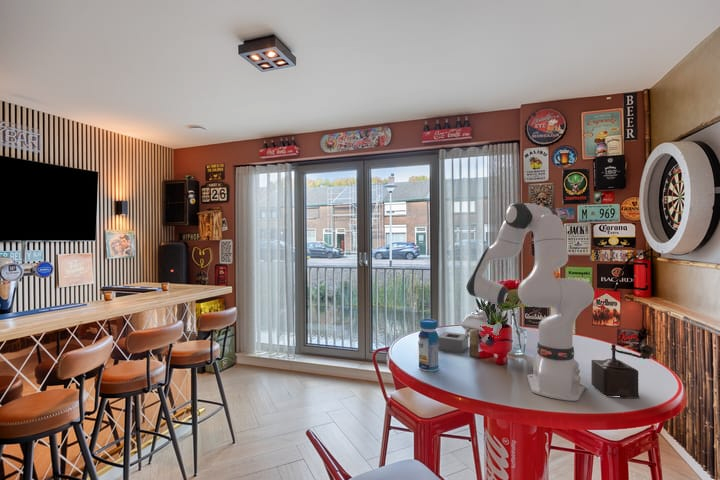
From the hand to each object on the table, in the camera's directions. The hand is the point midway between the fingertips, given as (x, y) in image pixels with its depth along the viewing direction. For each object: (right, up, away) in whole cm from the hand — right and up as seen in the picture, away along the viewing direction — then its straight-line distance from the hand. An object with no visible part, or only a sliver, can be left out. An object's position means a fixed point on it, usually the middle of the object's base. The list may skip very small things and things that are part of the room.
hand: (474, 339), depth 162 cm
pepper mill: (+39, -8, -39) cm, 56 cm away
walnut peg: (0, -8, 0) cm, 8 cm away
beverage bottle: (-24, -8, -15) cm, 29 cm away
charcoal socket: (-6, -8, +13) cm, 16 cm away
